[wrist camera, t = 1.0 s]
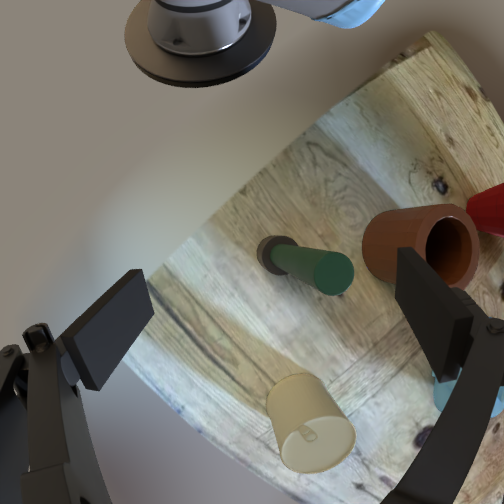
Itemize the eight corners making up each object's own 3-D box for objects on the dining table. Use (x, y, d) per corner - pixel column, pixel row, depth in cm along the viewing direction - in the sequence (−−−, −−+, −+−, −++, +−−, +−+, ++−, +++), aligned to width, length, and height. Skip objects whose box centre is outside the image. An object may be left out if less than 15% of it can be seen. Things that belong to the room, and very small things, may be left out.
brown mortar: (351, 226, 41) (402, 224, 28) (407, 200, 42) (465, 191, 29) (375, 293, 42) (428, 314, 29) (427, 263, 43) (486, 272, 30)
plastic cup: (493, 248, 44) (542, 252, 32) (454, 240, 43) (507, 243, 31) (495, 188, 44) (543, 182, 32) (456, 174, 43) (508, 163, 31)
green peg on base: (251, 244, 40) (287, 255, 18) (283, 230, 40) (352, 225, 18) (265, 276, 40) (314, 322, 19) (296, 262, 41) (376, 291, 19)
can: (307, 361, 42) (336, 402, 30) (338, 402, 42) (370, 446, 31) (252, 398, 41) (263, 449, 29) (288, 436, 42) (307, 487, 30)
